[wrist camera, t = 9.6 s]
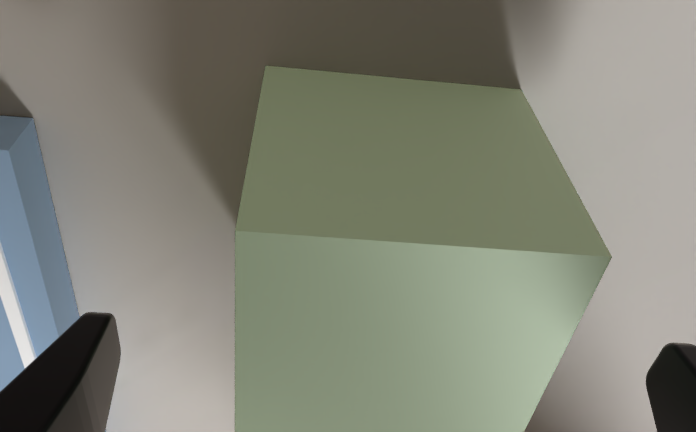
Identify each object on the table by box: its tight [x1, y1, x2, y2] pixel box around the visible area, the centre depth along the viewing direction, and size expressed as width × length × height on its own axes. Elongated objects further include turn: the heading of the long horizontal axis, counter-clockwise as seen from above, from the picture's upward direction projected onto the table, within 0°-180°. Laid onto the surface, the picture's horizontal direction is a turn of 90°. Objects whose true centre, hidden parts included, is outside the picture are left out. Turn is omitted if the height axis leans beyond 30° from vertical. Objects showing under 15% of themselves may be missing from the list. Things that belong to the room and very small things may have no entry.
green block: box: [235, 66, 612, 432], centre depth 12 cm, size 5×5×5 cm
